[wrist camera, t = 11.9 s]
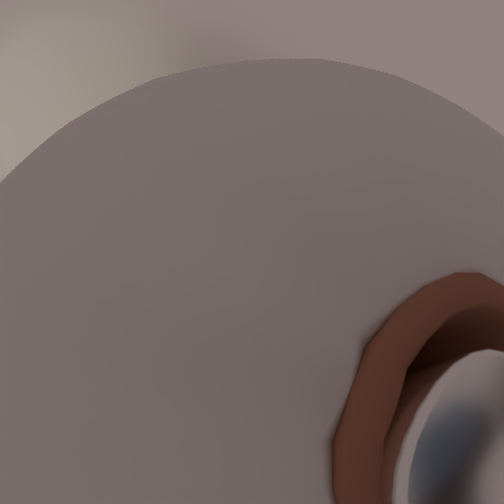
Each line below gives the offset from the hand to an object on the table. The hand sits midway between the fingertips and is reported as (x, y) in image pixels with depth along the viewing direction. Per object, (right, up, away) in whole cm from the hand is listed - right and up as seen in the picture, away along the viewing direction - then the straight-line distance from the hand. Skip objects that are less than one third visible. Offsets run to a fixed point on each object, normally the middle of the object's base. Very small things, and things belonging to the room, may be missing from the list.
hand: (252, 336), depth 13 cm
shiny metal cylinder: (0, -10, +9) cm, 13 cm away
